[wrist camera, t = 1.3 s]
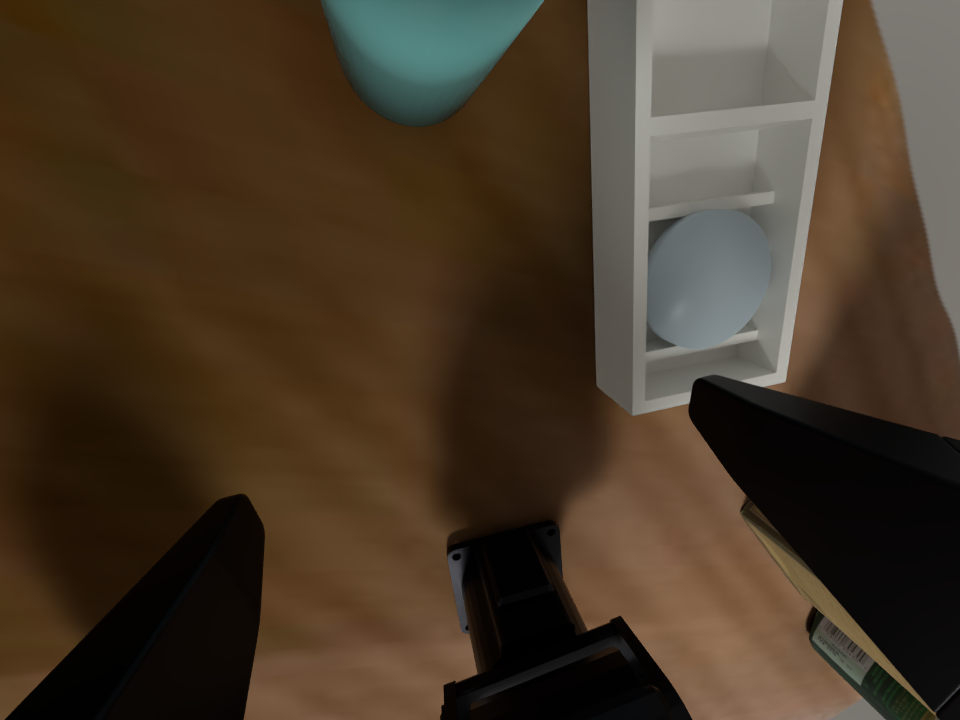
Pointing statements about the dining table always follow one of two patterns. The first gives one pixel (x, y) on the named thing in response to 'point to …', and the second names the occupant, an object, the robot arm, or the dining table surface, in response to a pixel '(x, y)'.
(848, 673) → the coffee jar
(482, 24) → the teal rounded block
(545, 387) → the dining table surface
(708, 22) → the rack
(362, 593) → the dining table surface
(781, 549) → the food packaging
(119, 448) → the dining table surface
